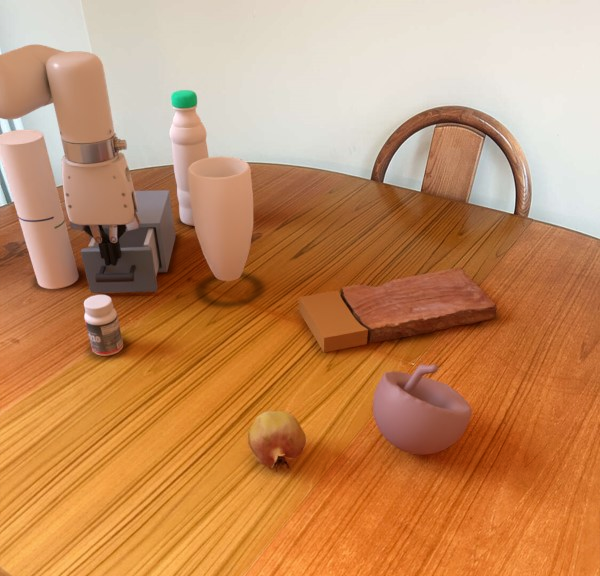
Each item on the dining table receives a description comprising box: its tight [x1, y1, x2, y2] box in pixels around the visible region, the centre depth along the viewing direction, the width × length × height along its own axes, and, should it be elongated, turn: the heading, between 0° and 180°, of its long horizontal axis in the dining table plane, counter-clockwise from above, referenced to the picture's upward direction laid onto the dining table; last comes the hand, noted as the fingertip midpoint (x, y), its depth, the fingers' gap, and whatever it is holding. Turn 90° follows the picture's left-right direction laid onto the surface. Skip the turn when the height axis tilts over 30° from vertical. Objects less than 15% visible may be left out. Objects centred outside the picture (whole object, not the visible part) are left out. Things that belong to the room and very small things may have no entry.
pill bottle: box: [83, 294, 124, 357], centre depth 99 cm, size 5×5×8 cm
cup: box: [188, 156, 254, 282], centre depth 108 cm, size 10×10×22 cm
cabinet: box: [88, 189, 177, 273], centre depth 122 cm, size 15×13×10 cm
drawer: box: [80, 227, 161, 294], centre depth 114 cm, size 18×11×8 cm, turn 2°
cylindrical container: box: [0, 128, 80, 290], centre depth 110 cm, size 7×7×25 cm
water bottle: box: [169, 89, 210, 227], centre depth 129 cm, size 7×7×25 cm
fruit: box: [247, 410, 307, 473], centre depth 81 cm, size 7×7×10 cm
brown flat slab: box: [298, 267, 498, 353], centre depth 107 cm, size 13×30×3 cm, turn 108°
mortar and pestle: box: [372, 363, 472, 456], centre depth 81 cm, size 12×12×11 cm
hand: (112, 261), depth 107 cm, fingers closed
